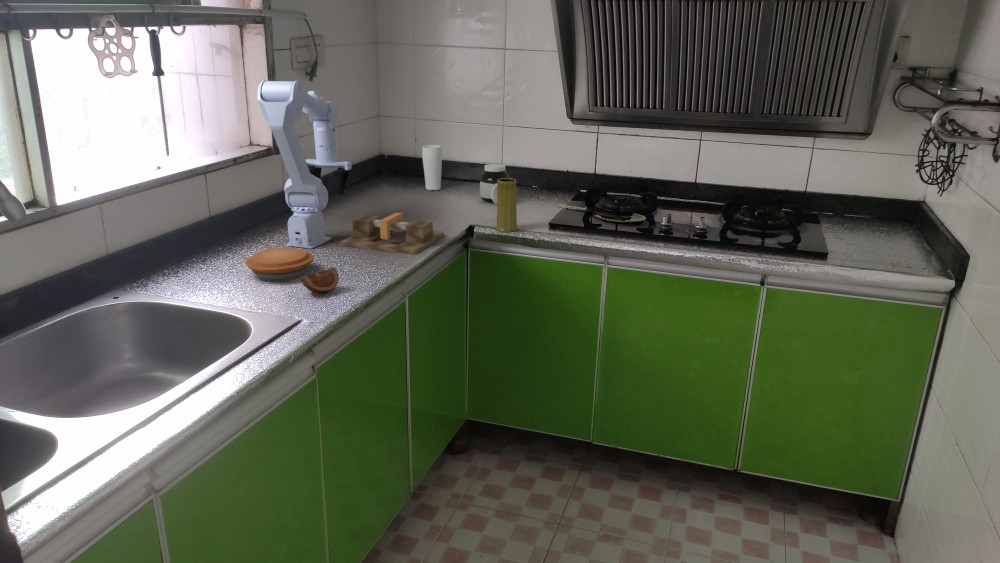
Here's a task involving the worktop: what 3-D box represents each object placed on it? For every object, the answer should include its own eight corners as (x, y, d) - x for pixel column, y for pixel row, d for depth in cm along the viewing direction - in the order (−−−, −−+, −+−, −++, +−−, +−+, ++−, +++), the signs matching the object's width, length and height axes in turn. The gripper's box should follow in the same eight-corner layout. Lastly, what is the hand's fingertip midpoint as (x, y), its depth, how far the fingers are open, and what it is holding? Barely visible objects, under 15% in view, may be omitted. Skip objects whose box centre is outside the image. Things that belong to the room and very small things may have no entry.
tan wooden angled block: (387, 239, 195) (386, 221, 193) (380, 238, 195) (379, 220, 194) (403, 230, 203) (402, 213, 201) (396, 230, 203) (395, 212, 202)
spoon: (544, 213, 235) (544, 206, 234) (568, 208, 242) (567, 201, 241) (631, 228, 209) (631, 221, 209) (654, 222, 216) (654, 215, 215)
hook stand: (444, 235, 204) (443, 216, 202) (414, 254, 188) (413, 233, 186) (374, 228, 211) (372, 209, 210) (340, 245, 196) (338, 225, 194)
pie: (282, 259, 185) (280, 240, 183) (328, 269, 177) (327, 249, 176) (232, 277, 172) (230, 257, 171) (280, 289, 165) (278, 267, 163)
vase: (521, 229, 210) (522, 179, 205) (507, 233, 206) (507, 183, 201) (506, 225, 214) (506, 176, 209) (491, 229, 210) (491, 180, 205)
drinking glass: (421, 191, 257) (419, 147, 252) (426, 186, 263) (424, 144, 258) (440, 191, 256) (439, 148, 251) (444, 187, 262) (443, 145, 257)
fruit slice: (311, 301, 157) (309, 279, 156) (295, 293, 162) (293, 272, 160) (345, 291, 163) (343, 270, 161) (328, 284, 167) (326, 263, 166)
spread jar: (494, 196, 249) (494, 162, 245) (522, 201, 243) (522, 165, 239) (472, 203, 240) (472, 167, 236) (501, 208, 234) (501, 171, 230)
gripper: (355, 144, 206) (359, 192, 211) (311, 141, 211) (315, 188, 215) (342, 148, 200) (345, 197, 204) (296, 145, 205) (301, 193, 209)
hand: (329, 193), depth 209 cm, fingers open, 7 cm apart
